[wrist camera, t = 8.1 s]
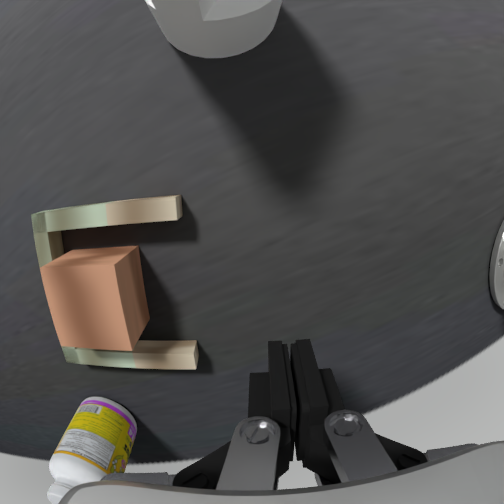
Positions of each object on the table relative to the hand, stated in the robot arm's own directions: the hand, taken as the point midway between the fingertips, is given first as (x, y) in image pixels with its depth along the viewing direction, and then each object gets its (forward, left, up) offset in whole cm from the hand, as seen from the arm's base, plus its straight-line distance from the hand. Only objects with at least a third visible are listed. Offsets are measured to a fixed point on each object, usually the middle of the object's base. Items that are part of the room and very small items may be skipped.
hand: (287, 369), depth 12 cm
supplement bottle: (+17, +15, -11) cm, 25 cm away
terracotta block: (+12, 0, -11) cm, 17 cm away
